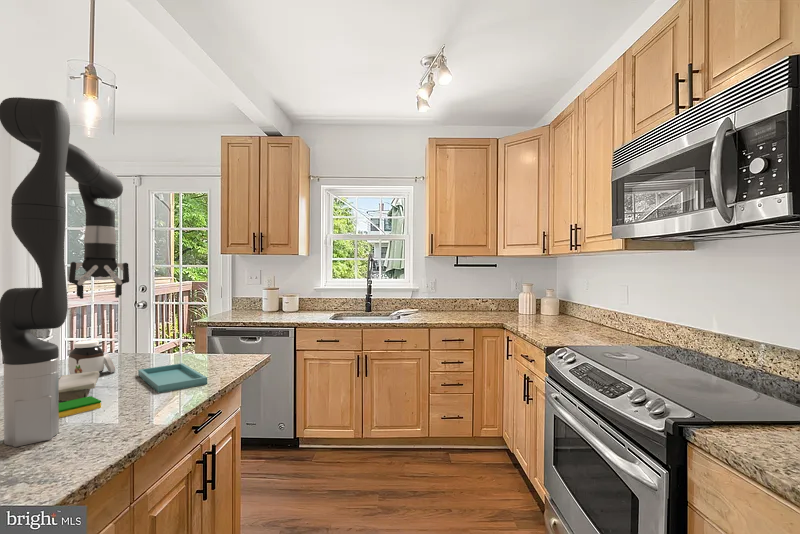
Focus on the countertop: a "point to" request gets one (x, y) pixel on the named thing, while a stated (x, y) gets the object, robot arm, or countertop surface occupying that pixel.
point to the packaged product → (77, 385)
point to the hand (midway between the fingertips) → (99, 298)
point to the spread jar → (88, 358)
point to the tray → (172, 377)
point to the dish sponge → (78, 406)
